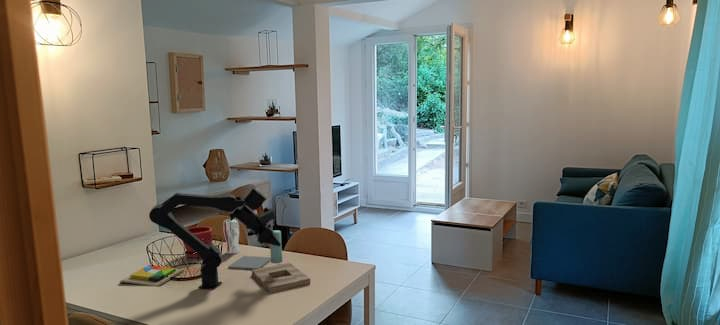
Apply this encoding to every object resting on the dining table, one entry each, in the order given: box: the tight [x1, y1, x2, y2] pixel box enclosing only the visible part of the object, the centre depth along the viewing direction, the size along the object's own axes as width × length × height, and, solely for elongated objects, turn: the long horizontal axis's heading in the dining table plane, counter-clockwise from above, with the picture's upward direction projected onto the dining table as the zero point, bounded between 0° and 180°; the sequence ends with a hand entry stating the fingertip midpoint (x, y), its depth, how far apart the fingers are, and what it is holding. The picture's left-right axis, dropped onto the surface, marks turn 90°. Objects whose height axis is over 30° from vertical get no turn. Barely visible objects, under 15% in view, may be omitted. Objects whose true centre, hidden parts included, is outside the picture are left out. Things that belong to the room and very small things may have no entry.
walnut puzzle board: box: [251, 262, 311, 293], centre depth 196 cm, size 22×16×2 cm
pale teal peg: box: [269, 229, 283, 264], centre depth 197 cm, size 4×4×12 cm
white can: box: [223, 218, 241, 255], centre depth 232 cm, size 7×7×15 cm
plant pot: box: [182, 226, 213, 259], centre depth 230 cm, size 13×13×12 cm
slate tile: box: [227, 255, 271, 271], centre depth 216 cm, size 14×14×1 cm
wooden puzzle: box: [119, 263, 185, 287], centre depth 204 cm, size 18×19×4 cm
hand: (279, 243), depth 197 cm, fingers closed on pale teal peg, 4 cm apart
